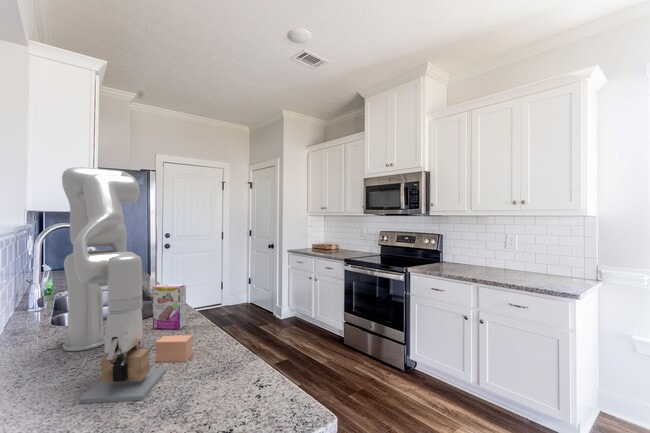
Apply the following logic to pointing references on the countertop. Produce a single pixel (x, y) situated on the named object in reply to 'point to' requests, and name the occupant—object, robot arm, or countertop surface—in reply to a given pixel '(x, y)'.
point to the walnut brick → (128, 366)
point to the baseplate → (123, 389)
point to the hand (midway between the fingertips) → (126, 374)
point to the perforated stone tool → (147, 309)
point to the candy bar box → (169, 306)
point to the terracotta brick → (173, 348)
